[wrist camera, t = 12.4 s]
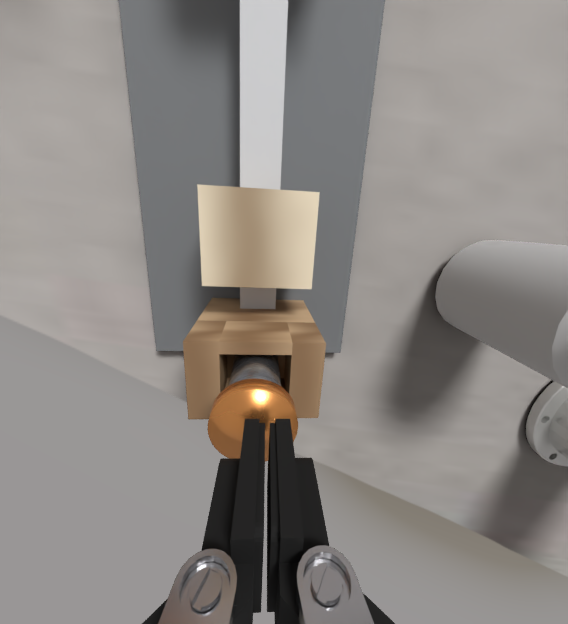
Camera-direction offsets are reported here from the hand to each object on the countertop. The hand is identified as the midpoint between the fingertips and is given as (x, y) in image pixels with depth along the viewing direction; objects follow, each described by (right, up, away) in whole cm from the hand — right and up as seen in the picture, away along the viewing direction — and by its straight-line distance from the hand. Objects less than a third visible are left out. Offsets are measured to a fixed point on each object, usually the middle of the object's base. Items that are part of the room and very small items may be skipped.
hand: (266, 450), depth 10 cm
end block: (-1, +4, +12) cm, 12 cm away
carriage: (-1, +10, +9) cm, 14 cm away
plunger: (-1, +2, +6) cm, 7 cm away
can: (+17, +8, +13) cm, 22 cm away
